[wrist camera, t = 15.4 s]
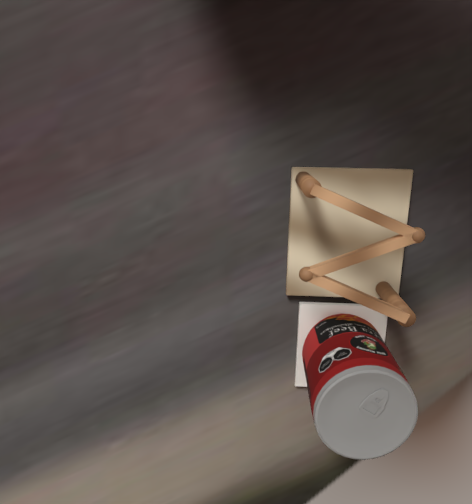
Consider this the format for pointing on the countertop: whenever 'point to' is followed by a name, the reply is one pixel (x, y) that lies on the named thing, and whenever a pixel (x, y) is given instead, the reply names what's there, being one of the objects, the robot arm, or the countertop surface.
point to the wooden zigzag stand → (351, 236)
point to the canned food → (356, 389)
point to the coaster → (319, 310)
